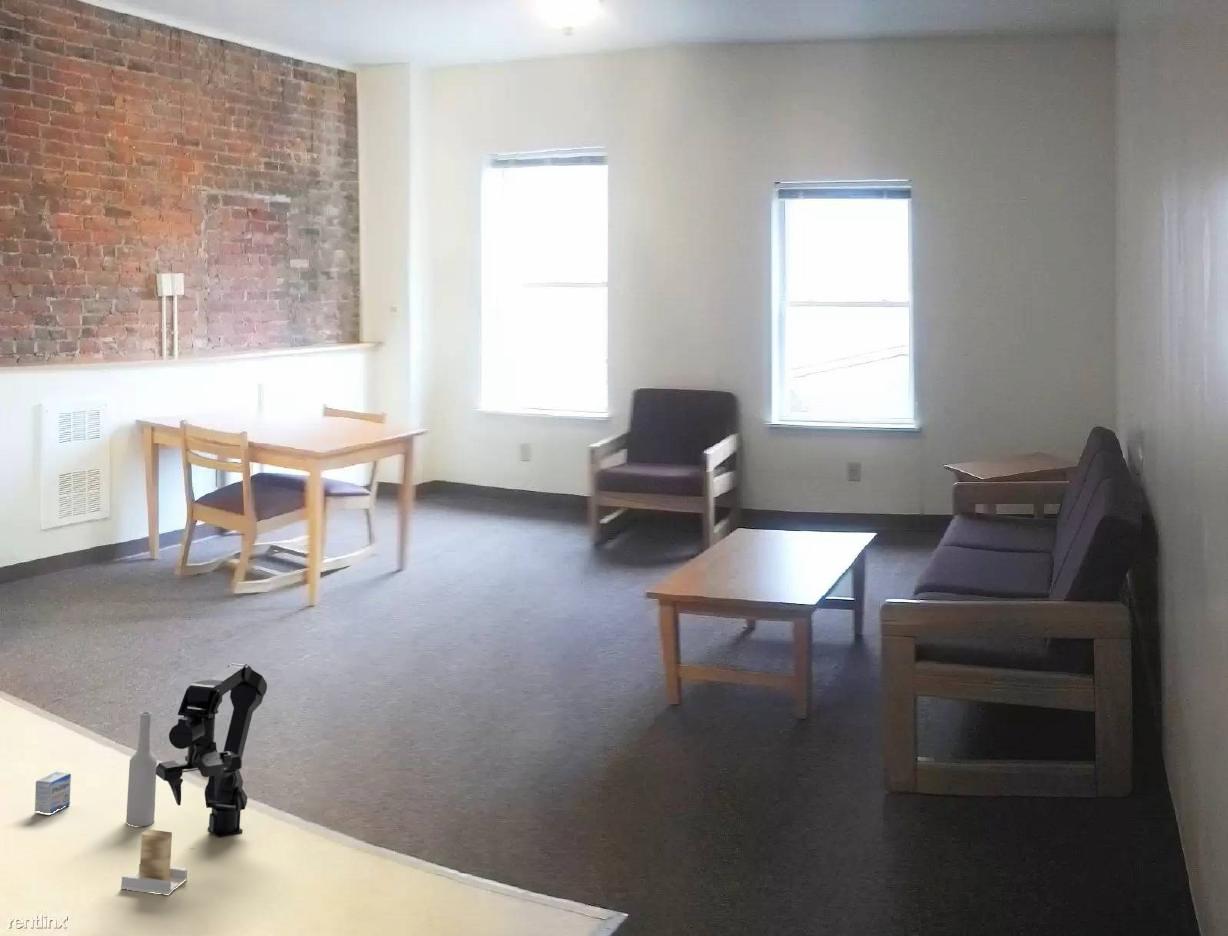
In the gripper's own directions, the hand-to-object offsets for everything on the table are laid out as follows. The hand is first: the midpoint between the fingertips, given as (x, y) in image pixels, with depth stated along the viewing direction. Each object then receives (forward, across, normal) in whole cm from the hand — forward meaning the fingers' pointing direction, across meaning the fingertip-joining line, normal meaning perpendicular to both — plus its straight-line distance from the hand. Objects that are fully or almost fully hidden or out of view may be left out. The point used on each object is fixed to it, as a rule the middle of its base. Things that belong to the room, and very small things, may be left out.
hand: (197, 801), depth 280 cm
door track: (+13, -14, -11) cm, 22 cm away
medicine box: (+13, -18, +45) cm, 50 cm away
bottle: (+13, -3, +26) cm, 29 cm away
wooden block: (+12, -14, -11) cm, 22 cm away
